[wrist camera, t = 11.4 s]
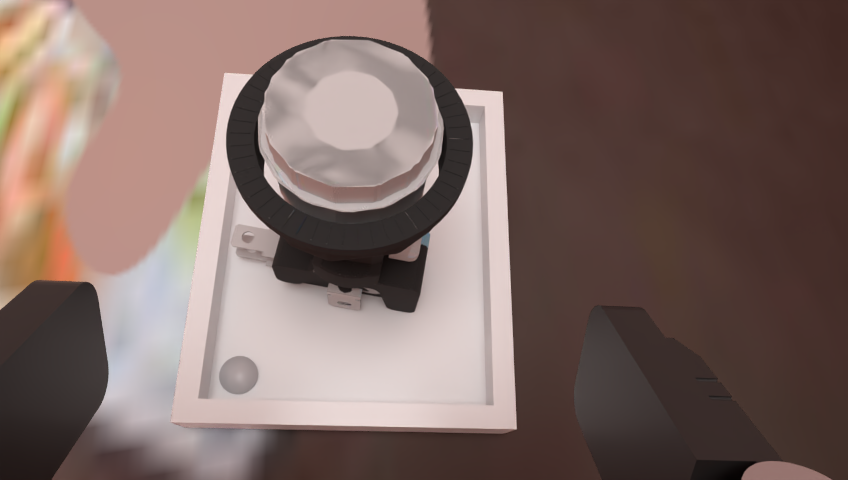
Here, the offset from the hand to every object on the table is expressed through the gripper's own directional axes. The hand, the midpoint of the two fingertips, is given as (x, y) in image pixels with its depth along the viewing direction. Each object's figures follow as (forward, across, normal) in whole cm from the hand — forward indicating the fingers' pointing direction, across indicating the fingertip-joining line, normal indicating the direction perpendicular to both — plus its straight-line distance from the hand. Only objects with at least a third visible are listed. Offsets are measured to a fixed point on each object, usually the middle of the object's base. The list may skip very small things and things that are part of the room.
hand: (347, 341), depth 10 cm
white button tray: (+12, 0, +4) cm, 13 cm away
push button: (+11, +1, +4) cm, 12 cm away
